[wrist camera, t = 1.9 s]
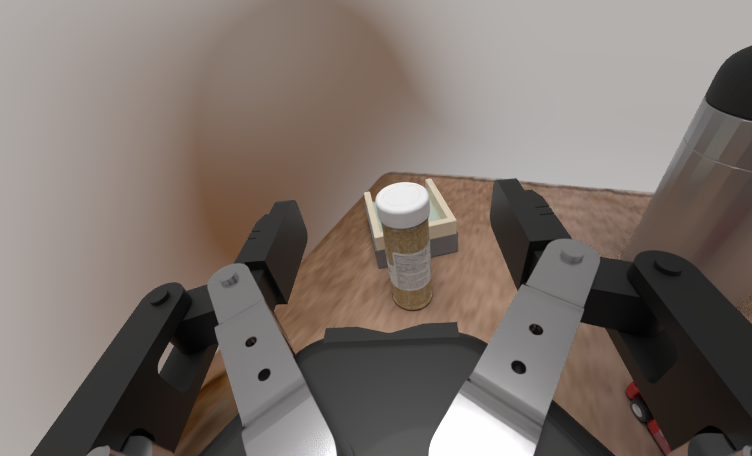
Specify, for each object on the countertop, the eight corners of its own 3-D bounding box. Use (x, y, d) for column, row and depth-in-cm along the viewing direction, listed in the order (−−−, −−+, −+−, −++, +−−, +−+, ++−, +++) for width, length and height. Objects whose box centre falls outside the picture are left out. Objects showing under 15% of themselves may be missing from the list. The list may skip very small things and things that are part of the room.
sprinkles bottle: (394, 278, 36) (379, 181, 28) (433, 279, 35) (430, 178, 27) (390, 311, 33) (370, 211, 24) (433, 313, 32) (428, 210, 23)
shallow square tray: (433, 206, 46) (432, 178, 42) (457, 251, 38) (458, 220, 35) (368, 220, 45) (362, 192, 42) (379, 268, 38) (373, 238, 34)
